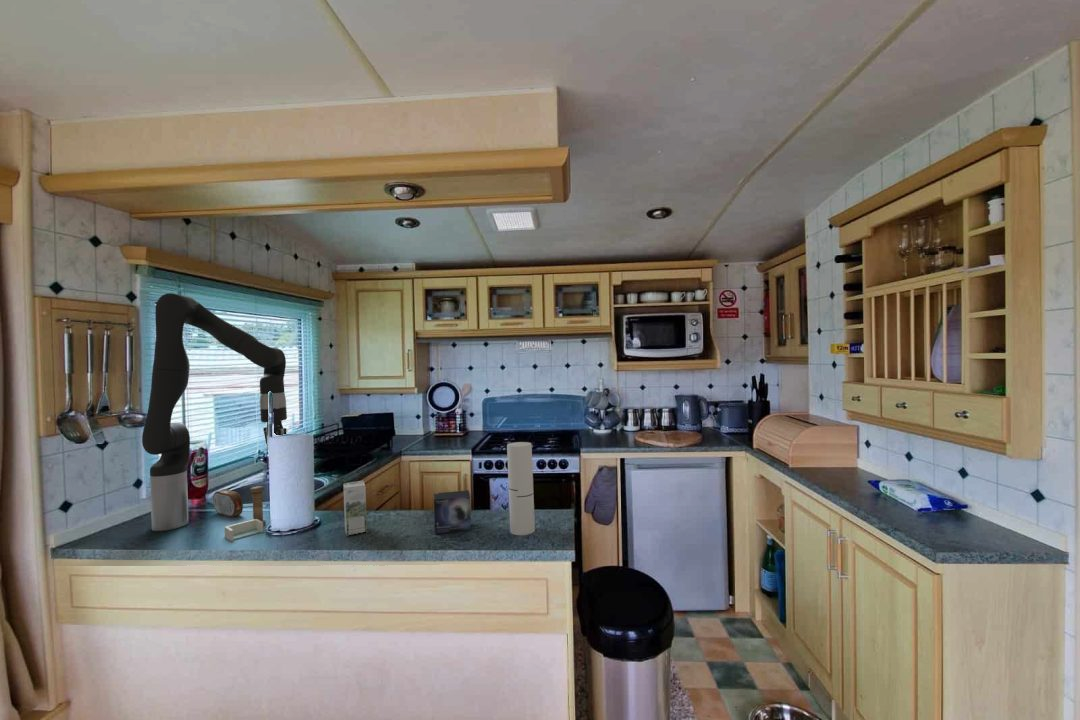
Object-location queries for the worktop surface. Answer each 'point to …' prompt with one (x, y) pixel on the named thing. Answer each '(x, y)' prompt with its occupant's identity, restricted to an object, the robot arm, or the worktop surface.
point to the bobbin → (258, 503)
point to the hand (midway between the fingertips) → (276, 457)
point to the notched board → (243, 529)
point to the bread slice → (227, 503)
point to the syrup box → (355, 508)
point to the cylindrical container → (520, 488)
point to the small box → (452, 512)
